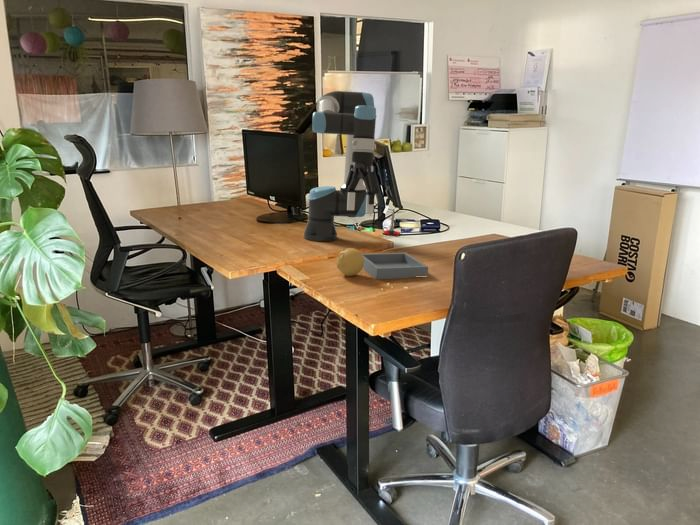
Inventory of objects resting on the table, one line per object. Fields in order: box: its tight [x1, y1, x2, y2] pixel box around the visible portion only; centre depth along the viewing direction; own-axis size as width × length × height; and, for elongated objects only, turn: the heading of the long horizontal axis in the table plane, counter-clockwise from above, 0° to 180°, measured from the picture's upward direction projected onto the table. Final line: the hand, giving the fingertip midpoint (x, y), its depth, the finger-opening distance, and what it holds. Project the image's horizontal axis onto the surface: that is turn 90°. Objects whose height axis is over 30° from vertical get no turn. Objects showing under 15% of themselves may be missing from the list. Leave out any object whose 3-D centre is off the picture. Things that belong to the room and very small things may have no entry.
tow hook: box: [383, 208, 401, 237], centre depth 268 cm, size 8×13×9 cm
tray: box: [361, 252, 429, 280], centre depth 206 cm, size 20×20×4 cm
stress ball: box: [336, 247, 364, 277], centre depth 196 cm, size 10×10×10 cm
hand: (359, 212), depth 196 cm, fingers open, 13 cm apart
